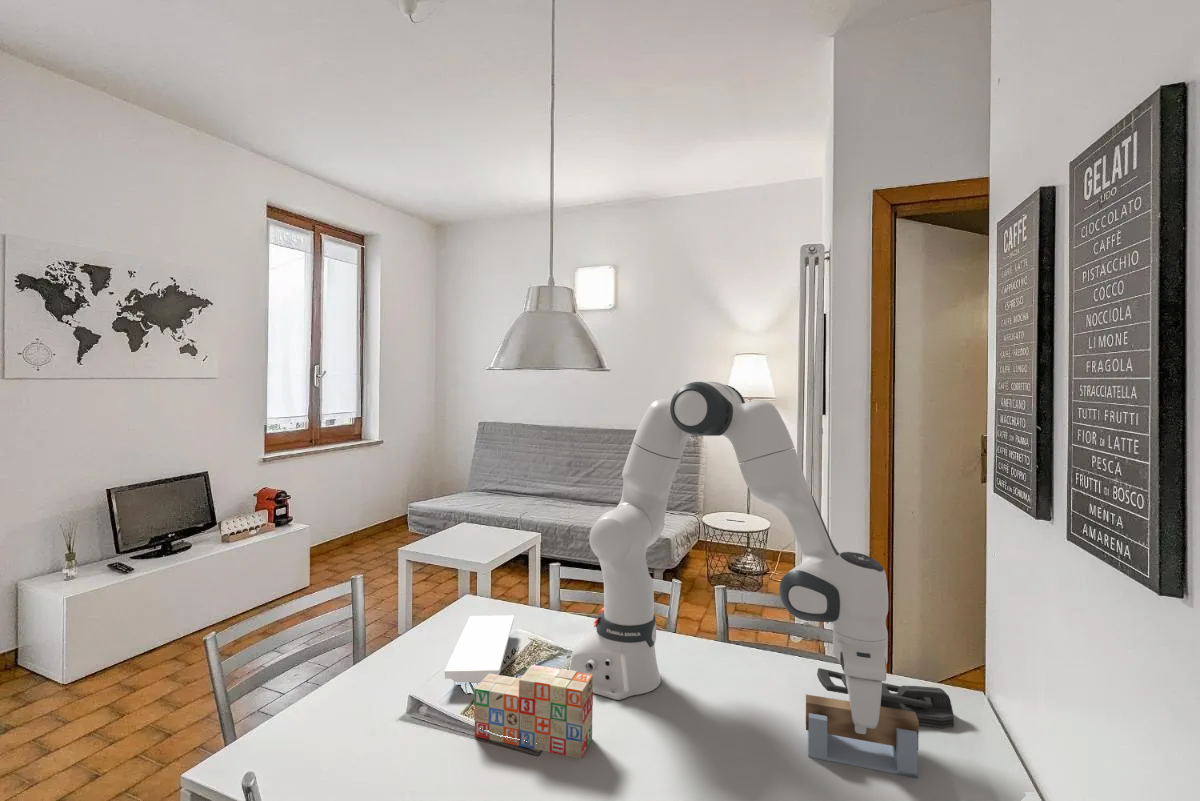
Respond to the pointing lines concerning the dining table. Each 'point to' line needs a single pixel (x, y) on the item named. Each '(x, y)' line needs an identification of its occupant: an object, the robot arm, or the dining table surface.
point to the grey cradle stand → (864, 749)
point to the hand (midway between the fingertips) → (858, 724)
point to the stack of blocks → (537, 710)
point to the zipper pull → (905, 700)
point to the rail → (844, 726)
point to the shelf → (480, 649)
